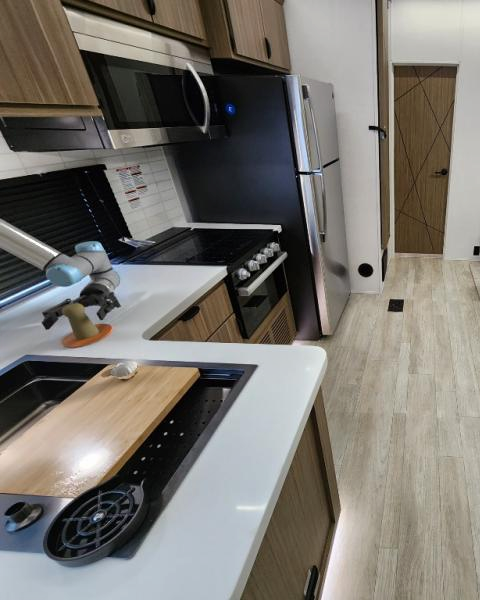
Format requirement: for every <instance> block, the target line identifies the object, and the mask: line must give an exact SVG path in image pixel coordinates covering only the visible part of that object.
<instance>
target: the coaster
mask: <svg viewBox="0 0 480 600" xmlns="http://www.w3.org/2000/svg"><path fill="white" fill-rule="evenodd" d="M94 325H95V326H96V328H97V329H98V330H99V332H98V333H97V334H96V335H94V336H93V337H90V338H87V339H83V340H77V339H76V338H75V336H74V333H73V331H72V332H70V333H68V334H67V335H65V336H64V337H63V338H62V339H61V341H60V343H61V345H62V346H63V347H64V348H68V349H74V348H75V349H76V348H81V347H85V345H86V346H88V345H92V344H94V342H95V343H97V342H99V341H102V340H103V339H105V338H107V337H108V336H110V334H111V333H112V332H113V328H114V327H113V326H112V325H111V324H109V323H96V324H94ZM91 343H92V344H91Z"/></svg>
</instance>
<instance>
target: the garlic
mask: <svg viewBox="0 0 480 600" xmlns="http://www.w3.org/2000/svg"><path fill="white" fill-rule="evenodd" d="M137 365H138V366H139V363H137V362H136V361H134V360H133V361H132V360H125V361H121V362H118V363H117V364H116V365H115V366H114V368H113V369H111V371H110V376H111V377H112V376H116V377H123V376H127V375H129V374H131V373H132V372H133V371H134V370H135V369H136V368H137Z"/></svg>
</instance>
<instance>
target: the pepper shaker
mask: <svg viewBox="0 0 480 600" xmlns="http://www.w3.org/2000/svg"><path fill="white" fill-rule="evenodd" d="M62 313H63V316H64V317H66V318H67V319H68V323H69V325H70V328H71V331H72V332H73V333H74V336H75V338H76V339H77V340H83V339H87V338H90V337H93V336H94V335H96V334H97V333H98V332H99V330H98V329H97V328H96V326H95V324H94V322H93V321H92V320H91V319H90V317H89V316H88V315H87V314H86V307H85V308H84V306H83V305H81V304H77V303H76V304H70V305H67V306H65V307H64V308H63V309H62Z"/></svg>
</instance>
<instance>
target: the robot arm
mask: <svg viewBox="0 0 480 600" xmlns="http://www.w3.org/2000/svg"><path fill="white" fill-rule="evenodd" d="M0 249H2V250H3V251H6V252H7V253H10V254H12V255H13V256H16V257H17V258H19V259H21V260H23V261H25V262H27V263H29V264H31V265H32V266H34V267H36V268H38V269H40V270H42V271H43V272H45V277H46V279H47V280H48V281H49V282H50V283H51V284H52V285H54V286H57V287H61V288H67V287H71V286H73V285H75V284H77V283H79V282H81V281H82V280H83V279H85V278H86V277H87V276H89V279H90V280H89V282H88V283H87V284H85V286H84V287H83V288H82V289H81V290H80V292H79V296H78V297H76V298H75V299H71V298H70V297H69V298H65V299H64V300H63V301H62V302H60V303H57V304H55V305H54V306H52V307H50V308H48V309H46V310H43V311H42V312H41V314H42V316H43V317H44V318H43V320H42V321H41V325H42V326H43V327H44V329H45V330H46V331H47V330H50V329H51V328H52V327H53V326H54V325H55V324H56V323H57V321H58V320H59V318H61V317H63V316H64V315H63V313H62V309H63V308H64V307H65V306H67V305H70V304H76V303H77V304H81V305H83V306H84V308H85V309H86V308H88V307H100V308H99V309H98V310H97V311H96V313H95V314H96V316H97V317H98V319H99V321H104V320H105V318H106V316H107V315H108V314H110V313H111V312H112V310H114V309H115V308H117V309H119V308H121V307H122V306H121V303H120V301H119V299H118V298H117V296H116V294H115V290H116V289H117V288H118V287H119V286H120V284H121V281H122V275H121V273H120V272H119V271H118V270H116V269H115V268H114V267H113V266H112V263H111V261H110V259H109V256H108V253H107V252H106V250H105V249H104V247H103V245H102V243H101V242H99V241H96V240H95V241H94V240H92V241H91V240H90V241H84V242H80V243H78V244H76V245H74V250H75V254H74V255H72V256H68V255H67V254H64V253H62V252H60V251H59V250H57V249H55V248H54V247H52V246H50V245H48V244H47V243H45V242H43V241H41V240H39V239H37V237H34V236H33V235H31V234H29V233H27V232H26V231H23V230H22V229H20V228H19V227H16V226H14V225H12V224H11V223H9V222H7V221H6V220H4V219H2V218H0Z"/></svg>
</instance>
